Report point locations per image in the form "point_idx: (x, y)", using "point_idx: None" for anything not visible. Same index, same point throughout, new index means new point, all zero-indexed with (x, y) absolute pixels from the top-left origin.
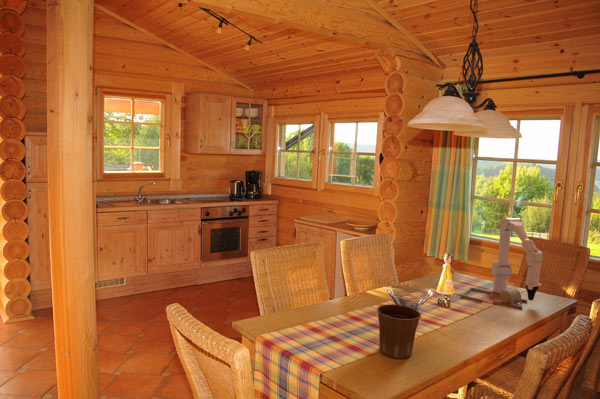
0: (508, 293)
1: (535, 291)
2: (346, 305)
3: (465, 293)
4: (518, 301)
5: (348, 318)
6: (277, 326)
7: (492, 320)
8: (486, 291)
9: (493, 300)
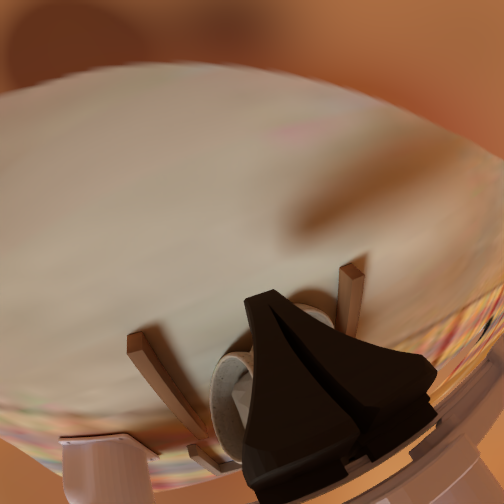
0: None
1: (393, 353)
2: (457, 378)
3: None
4: None
5: (488, 341)
6: None
7: (488, 252)
8: (204, 458)
9: None
